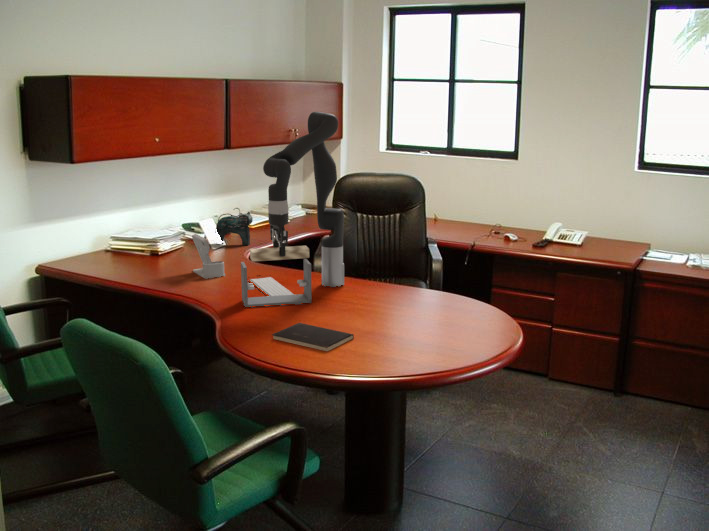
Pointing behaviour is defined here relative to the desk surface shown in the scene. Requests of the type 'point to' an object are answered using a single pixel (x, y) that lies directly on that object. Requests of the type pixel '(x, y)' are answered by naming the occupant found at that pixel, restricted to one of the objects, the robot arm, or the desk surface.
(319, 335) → the hardcover book
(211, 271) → the phone holder
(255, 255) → the shelf board
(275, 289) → the baseboard
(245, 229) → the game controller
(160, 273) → the desk surface
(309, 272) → the shelf frame
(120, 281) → the desk surface
